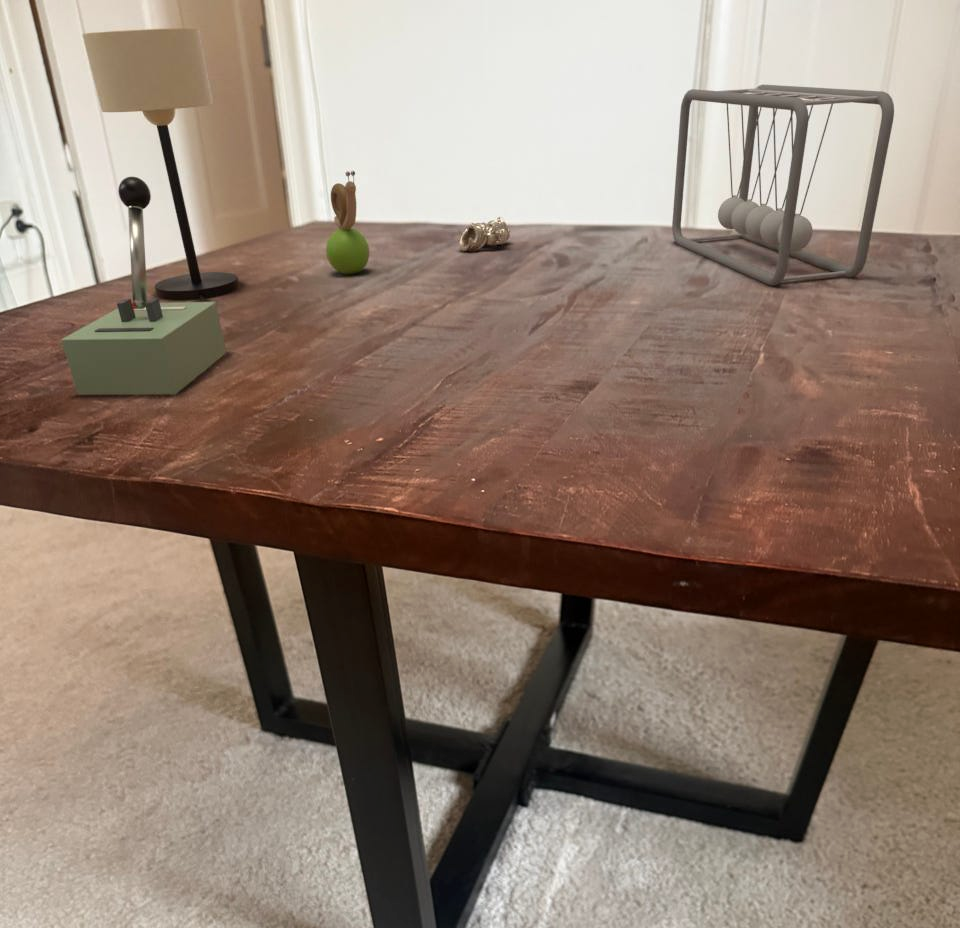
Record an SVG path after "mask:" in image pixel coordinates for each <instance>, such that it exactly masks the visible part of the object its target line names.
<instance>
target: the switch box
mask: <svg viewBox="0 0 960 928" xmlns="http://www.w3.org/2000/svg"><path fill="white" fill-rule="evenodd" d="M116 306H117V308H116V309H113V310H112V311H110V312H109V313H107V314H105V315H102V316H100V317H99V318H97V319H95V320H94V321H91V322H90V323H88V324H87V325H84V326H83V327H81V328H79V329H78V330H75V331H74V332H72V333H70V334H69V335H67V336H65V337H63V338H61V339H60V342H61V345H62V348H63V351H64V354H65V358H66V360H67V364H68V366H69V370H70V373H71V376H72V379H73V383H74V385H75V389H76V392H77V395H78V396H79V395H81V396H85V395H86V396H94V395H96V396H97V395H99V396H100V395H101V396H103V395H104V396H105V395H110V396H111V395H115V396H116V395H119V396H121V395H123V396H124V395H177V394H178V393H179V392H180V391H181V390H183V389H184V388H185V387H186V386H188V385H189V384H190V383H191V382H192V381H194V380H195V379H196V378H197V377H199V376H200V375H202V373H204V372H205V371H206V370H207V369H209V368H210V367H211V366H212V365H213V364H215V363H216V362H217V361H218V360H219V359H221V358H222V357H224V356H225V355H226V354H227V349H226V344H225V340H224V335H223V330H222V329H223V328H222V325H221V324H222V323H221V320H220V316H219V310H218V306H217V302H216V301H206V302H200V301H191V302H190V301H186V302H185V301H183V302H181V301H179V302H160V298H159V297H155V298H154V297H153V298H150V299H149V300H147V302H145V306H146V307H145V308H144V309H138V308H136V307H135V306H134V304H133V299H132V298H124V299H122V300H120V301H117V303H116Z"/></svg>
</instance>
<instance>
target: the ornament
mask: <svg viewBox="0 0 960 928" xmlns="http://www.w3.org/2000/svg"><path fill="white" fill-rule="evenodd" d="M496 219H497V221H495V220H489V221H488V222H487V223H486V222H484V221H483V222H475V223H474V222H471V223H470V225H469V224H468V225H467V226H466V229H465V230H464V231H463V233H462V234H461V237H460V239H459V249H460V250H461V251H462V252H477V251H479V250H481V249H483V248H484V246H485V245H487V246H492V247H495V246H502V245H504V244H506V243H507V241H508V240H509V239H510V238H511V230H510V228H508V225H507V223H506V222H505V220H504V219H503V217H501V216H499V217H497V218H496Z"/></svg>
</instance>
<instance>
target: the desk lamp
mask: <svg viewBox="0 0 960 928" xmlns="http://www.w3.org/2000/svg"><path fill="white" fill-rule="evenodd" d="M200 31H201V30H200V28H199V27H168V28H145V29H144V28H143V29H142V28H141V29H126V30H125V29H124V30H109V31H108V30H107V31H97V32H85V33H82V39H83V43H84V47H85V50H86V54H87V59H88V62H89V66H90V70H91V74H92V79H93V82H94V86H95V89H96V90H95V91H96V94H97V99H98V103H99V106H100V110H101V113H135V112H142V114H143V116H144V118H145V119H146V121H148V122H149V123H150V124H152V125H153V126H156V129H157V134H158V138H159V143H160V147H161V151H162V152H161V153H162V156H163V160H164V165H165V169H166V174H167V178H168V182H169V188H170V193H171V197H172V201H173V205H174V209H175V214H176V218H177V224H178V227H179V232H180V238H181V241H182V246H183V251H184V255H185V259H186V263H187V268H188V272H189V273H187V274H181V275H175V276H172V277H169V278H168V277H167V278H165V279H162V280H159V281H158V282H156V283H155V284H154V289H155V294H156V298H158V299H161V300H165V301H166V300H167V301H197V300H198V302H207V300H206V299H210V298H216V297H221V296H224V295H229V294H231V293H233V292H235V291H237V290H238V289H240V282H239V281H240V280H239V276H238V275H236V274H234V273H231V272H225V271H224V272H223V271H210V272H209V271H207V272H206V271H205V272H201V271H200V267H199V263H198V258H197V254H196V253H197V252H196V250H195V249H196V248H195V244H194V239H193V236H192V231H191V230H192V229H191V225H190V222H189V221H190V220H189V216H188V211H187V208H186V203H185V199H184V194H183V189H182V185H181V180H180V176H179V170H178V167H177V166H178V165H177V161H176V157H175V151H174V147H173V142H172V139H171V138H172V137H171V134H170V129H169V125H170V124H171V123H172V122H173V121H174V118H175V116H176V110H177V109H179V110H180V109H188V108H198V107H199V108H200V107H206V106H211V105H213V104H214V101H213V95H212V89H211V85H210V79H209V73H208V68H207V63H206V60H205V59H206V58H205V54H204V53H205V52H204V47H203V42H202V36H201V32H200Z"/></svg>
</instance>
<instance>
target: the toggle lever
mask: <svg viewBox="0 0 960 928" xmlns="http://www.w3.org/2000/svg"><path fill="white" fill-rule="evenodd" d="M117 192H118V197H119V199H120V202H121V203H122V204H123V205H124V206H125V207H127V214H128V217H127V218H128V234H129V235H128V236H129V252H130V253H129V254H130V275H131V291H132V294H131V295H132V300H133V304H134V306H135V307H136V308H138V309H144V308H145V307H146V306H145V302H147V301H148V288H147V287H148V285H147V284H148V283H147V265H146V264H147V263H146V244H145V227H144V224H145V223H144V210H145V209H146V208H147V207H148V206H149V205H150V202H151V199H152V195H151V190H150V188H149V186H148V184H147V183H146V182H145V181H144V180H143V179H142V178H140V177H136V176H127V177H125V178H123V179H122V180H121V181H120V183H119V185H118V191H117Z"/></svg>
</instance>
